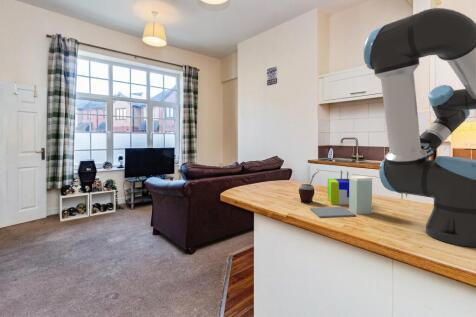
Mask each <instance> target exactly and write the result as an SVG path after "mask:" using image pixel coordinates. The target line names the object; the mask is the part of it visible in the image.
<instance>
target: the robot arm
mask: <svg viewBox="0 0 476 317" xmlns="http://www.w3.org/2000/svg"><path fill="white" fill-rule="evenodd" d="M427 56H428V57H429V56H437V58H439V59H440V60H442V61H446V62H447V64H448V65H449V66H450V68H451V69H452V70H453V72H454V74H455V75H456V77H457V78H458V79H459V81H460V82H461V84H462V85H463V87H464V88H462V89H461V88H460V89H454V88H453V87H452V86H451V85H448V84H447V85H446V84H442V85H439V86H436V87H434V88H433V89H432V90H430V91H429V93H428V95H427V99H428V101H429V105H430V106H431V108H432V110H433V113H434V115H435V117H436V119H435V120H433V122H432V123H431V124H429V126H428V127H427V128H426V129H425V130H424V131H423V132H422V133H421V134H420V126H419V116H418V114H419V113H418V105H417V104H418V103H417V93H416V92H417V91H416V83H415V71H416V69H417V68H418V67H419V66H420V59H421V58H425V57H427ZM363 60H364V64H366V67H367V69H369V70H372V71H374V76H375V77H377V78H378V79H380V84H381V92H382V101H383V108H384V116H385V124H386V125H385V126H386V133H387V134H386V135H387V141H388V149H389V151H388V152H387V153H386V154H385V156H384V159H382V160H381V162H380V164H379V169H378V176H379V180H380V182H381V184H382V186H383V187H384V188H385V189H387V190H388V191H390V192H396V193H398V194H401V195H402V194H405V195H413V196H418V197H419V196H420V197H424V198H425V197H426V198H432V199H433V207H432V211H431V212H430V215H429V217H428V219H427V221H426V223H425V233H426V235H428V236H429V237H430V238H433V239H436V240H437V241H441V242H443V243H447V244H452V245H456V246H462V247H468V248H476V159H472V158H467V157H460V156H459V157H458V156H450V155H449V156H448V155H439V156H437V155H436V156H435V159H434V160H433V159H432V160H431V159H429V158H431V157H432V156H434V155H435V152H434V151H436V150H437V149H438V148H439V147H440V146H441V145H442V144H443V143H444V142H445V141H446V140H447V139H448V138H449V137H450V136H451V135H452V134H453V133H454V132H455V130H457V129H458V128H459V127H460V126H461V124H463V123H465V121H466V120H467V118H468V117H469V116H470V115H471V111H472V110H476V22H475V21H474V19H472V18H471V17H469V16H467V15H465V14H464V13H461V12H460V11H457V10H454V9H451V8H450V9H449V8H444V7H443V8H442V7H435V8H434V7H433V8H429V9H424V10H422V11H419V12H417V13H415V14H412V15H409V16H406V17H404V18H401V19H397V20H396V21H393V22H389V23H387V24H384V25H382V26H381V27H379V28H376V29H374V30H373V31H371V32H370V33H369V35H368V36H367V38H366V40H365V42H364V46H363ZM470 110H471V111H470Z"/></svg>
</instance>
